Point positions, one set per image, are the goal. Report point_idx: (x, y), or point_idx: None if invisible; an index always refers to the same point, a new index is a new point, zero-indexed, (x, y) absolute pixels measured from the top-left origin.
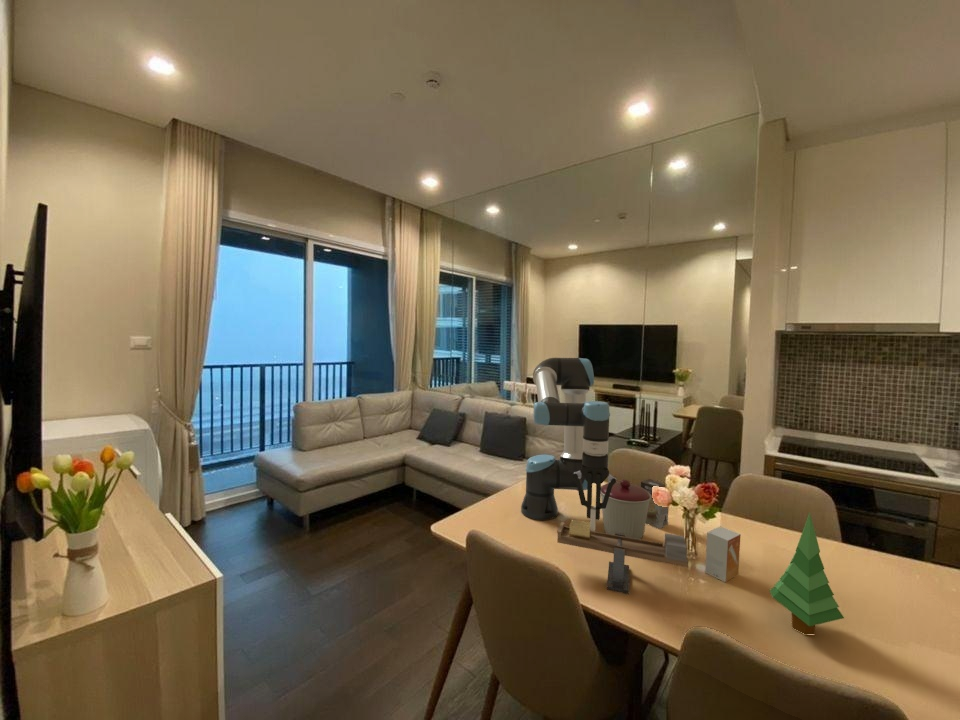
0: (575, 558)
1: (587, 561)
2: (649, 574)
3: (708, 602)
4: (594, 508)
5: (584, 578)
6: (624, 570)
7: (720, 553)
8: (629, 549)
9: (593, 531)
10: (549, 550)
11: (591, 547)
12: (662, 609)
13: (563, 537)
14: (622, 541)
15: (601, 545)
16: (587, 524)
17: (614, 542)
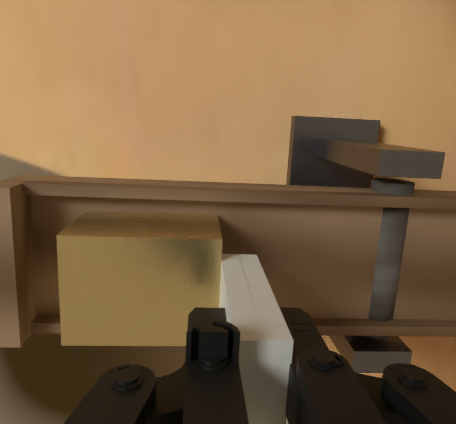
0: (141, 114)
1: (197, 122)
2: (449, 137)
3: None
4: (272, 401)
5: None
6: (355, 171)
7: None
8: (435, 332)
9: (235, 193)
10: (5, 80)
11: None
12: (444, 338)
13: (52, 328)
14: (408, 230)
15: None
16: (195, 282)
17: (360, 259)
